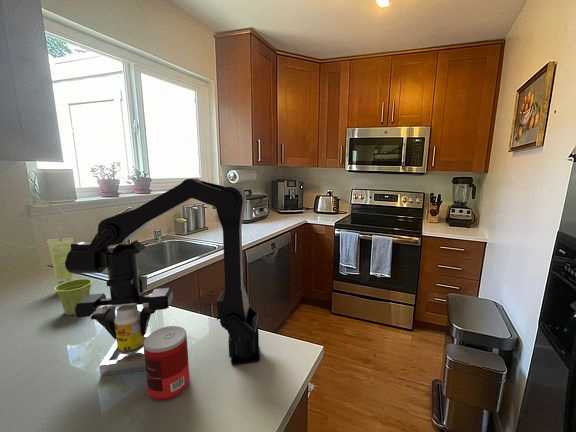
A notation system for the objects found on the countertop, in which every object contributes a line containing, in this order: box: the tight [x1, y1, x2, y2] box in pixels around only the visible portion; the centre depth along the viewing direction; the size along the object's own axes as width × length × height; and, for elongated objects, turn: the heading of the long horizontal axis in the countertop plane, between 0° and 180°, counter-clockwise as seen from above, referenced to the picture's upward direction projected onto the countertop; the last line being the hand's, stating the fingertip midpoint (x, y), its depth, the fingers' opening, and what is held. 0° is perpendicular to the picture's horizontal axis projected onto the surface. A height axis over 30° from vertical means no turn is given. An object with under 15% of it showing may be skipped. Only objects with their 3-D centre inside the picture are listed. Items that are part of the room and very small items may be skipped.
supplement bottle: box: [114, 305, 145, 355], centre depth 64 cm, size 6×6×10 cm
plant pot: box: [53, 278, 93, 316], centre depth 87 cm, size 9×9×9 cm
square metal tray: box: [99, 333, 150, 377], centre depth 66 cm, size 11×10×3 cm
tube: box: [46, 237, 75, 286], centre depth 102 cm, size 6×5×20 cm
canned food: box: [143, 325, 190, 402], centre depth 56 cm, size 8×8×11 cm
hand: (130, 336), depth 65 cm, fingers closed on supplement bottle, 6 cm apart
